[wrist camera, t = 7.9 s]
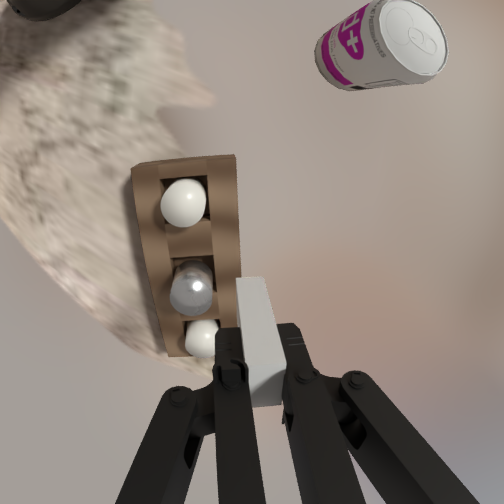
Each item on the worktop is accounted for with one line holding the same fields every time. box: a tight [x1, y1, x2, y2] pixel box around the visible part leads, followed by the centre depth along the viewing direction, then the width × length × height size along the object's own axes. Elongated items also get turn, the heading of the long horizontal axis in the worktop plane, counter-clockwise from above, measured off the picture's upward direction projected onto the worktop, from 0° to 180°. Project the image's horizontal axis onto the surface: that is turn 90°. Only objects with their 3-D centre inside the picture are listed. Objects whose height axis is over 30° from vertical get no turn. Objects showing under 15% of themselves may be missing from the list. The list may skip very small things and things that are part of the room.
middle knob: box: [170, 260, 213, 316], centre depth 32 cm, size 4×4×4 cm
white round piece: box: [161, 176, 207, 227], centre depth 30 cm, size 4×4×4 cm
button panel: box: [131, 154, 241, 357], centre depth 36 cm, size 26×11×4 cm, turn 2°
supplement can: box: [314, 0, 449, 91], centre depth 22 cm, size 8×8×15 cm
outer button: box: [185, 319, 219, 358], centre depth 38 cm, size 4×4×4 cm
